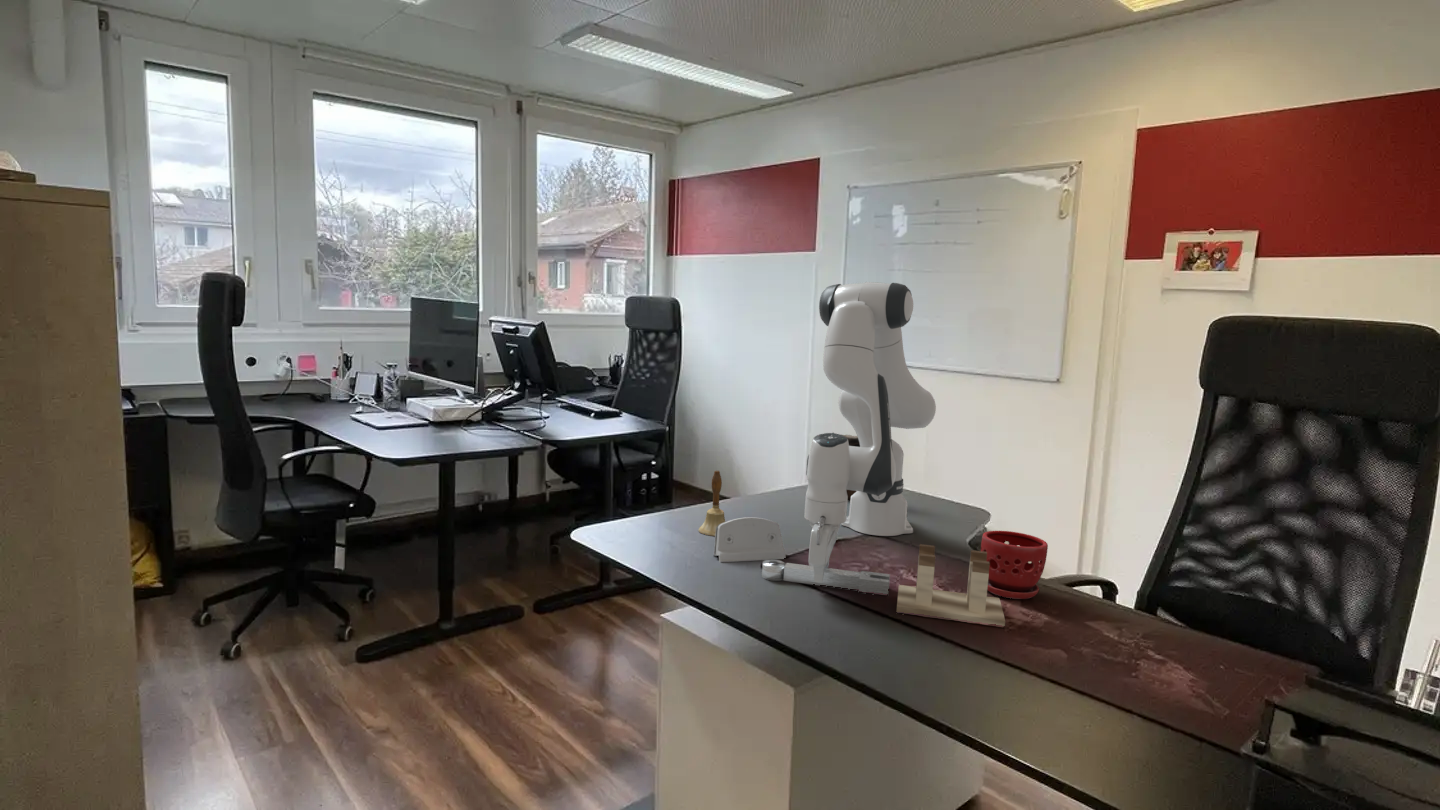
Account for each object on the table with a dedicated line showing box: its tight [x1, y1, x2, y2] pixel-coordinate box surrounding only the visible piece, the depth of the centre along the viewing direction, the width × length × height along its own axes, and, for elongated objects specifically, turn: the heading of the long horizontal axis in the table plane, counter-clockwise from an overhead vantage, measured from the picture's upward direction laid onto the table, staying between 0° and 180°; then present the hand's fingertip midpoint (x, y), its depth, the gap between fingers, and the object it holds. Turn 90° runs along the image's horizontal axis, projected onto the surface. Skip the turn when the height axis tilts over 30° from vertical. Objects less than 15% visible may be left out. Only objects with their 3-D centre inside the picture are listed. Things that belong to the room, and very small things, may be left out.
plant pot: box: [980, 530, 1049, 600], centre depth 165 cm, size 13×13×12 cm
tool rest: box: [896, 543, 1006, 626], centre depth 153 cm, size 12×20×12 cm, turn 75°
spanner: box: [761, 559, 891, 595], centre depth 165 cm, size 27×5×3 cm, turn 75°
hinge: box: [713, 516, 787, 563], centre depth 181 cm, size 17×5×10 cm, turn 105°
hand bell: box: [697, 470, 726, 537], centre depth 198 cm, size 8×8×16 cm
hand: (821, 574), depth 165 cm, fingers open, 8 cm apart
